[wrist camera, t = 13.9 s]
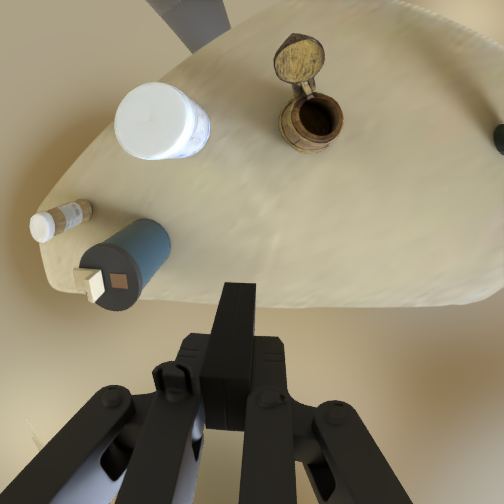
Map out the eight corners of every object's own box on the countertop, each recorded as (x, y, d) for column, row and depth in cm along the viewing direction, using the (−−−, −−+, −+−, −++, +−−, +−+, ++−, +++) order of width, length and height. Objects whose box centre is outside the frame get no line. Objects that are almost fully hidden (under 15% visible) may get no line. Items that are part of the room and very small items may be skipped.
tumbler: (170, 217, 49) (134, 246, 34) (174, 270, 52) (143, 315, 38) (120, 217, 49) (73, 244, 35) (126, 267, 52) (85, 307, 38)
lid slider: (101, 269, 35) (89, 279, 32) (105, 291, 36) (93, 303, 33) (75, 267, 36) (62, 277, 32) (79, 288, 37) (67, 299, 34)
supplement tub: (155, 160, 45) (112, 164, 31) (153, 104, 42) (111, 88, 28) (213, 156, 45) (189, 156, 31) (211, 98, 42) (188, 74, 28)
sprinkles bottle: (71, 202, 48) (25, 218, 36) (89, 195, 48) (43, 210, 35) (77, 225, 50) (33, 246, 37) (95, 219, 49) (51, 239, 36)
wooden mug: (309, 66, 40) (332, 20, 23) (344, 141, 43) (387, 135, 26) (257, 85, 41) (251, 45, 24) (293, 161, 45) (309, 165, 28)
